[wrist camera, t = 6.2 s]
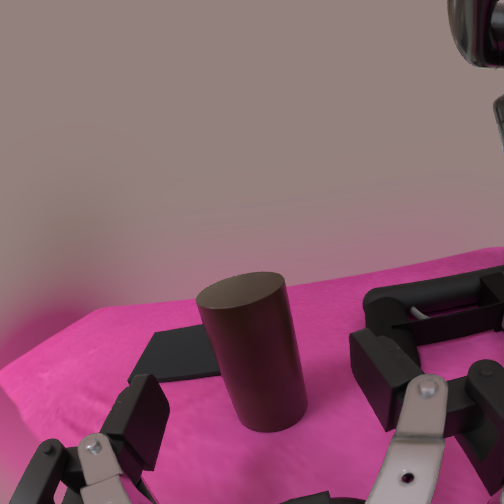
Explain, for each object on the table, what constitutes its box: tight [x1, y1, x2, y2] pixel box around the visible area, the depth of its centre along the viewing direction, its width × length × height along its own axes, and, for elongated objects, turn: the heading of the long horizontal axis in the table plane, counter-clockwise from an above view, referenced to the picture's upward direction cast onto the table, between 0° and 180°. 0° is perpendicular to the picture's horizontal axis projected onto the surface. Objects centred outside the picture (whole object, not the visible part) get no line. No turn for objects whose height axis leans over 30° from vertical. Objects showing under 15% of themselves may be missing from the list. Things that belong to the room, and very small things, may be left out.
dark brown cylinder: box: [196, 272, 308, 432], centre depth 15 cm, size 5×5×9 cm
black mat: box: [127, 324, 221, 384], centre depth 26 cm, size 10×10×1 cm
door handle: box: [363, 265, 504, 368], centre depth 15 cm, size 3×20×16 cm
